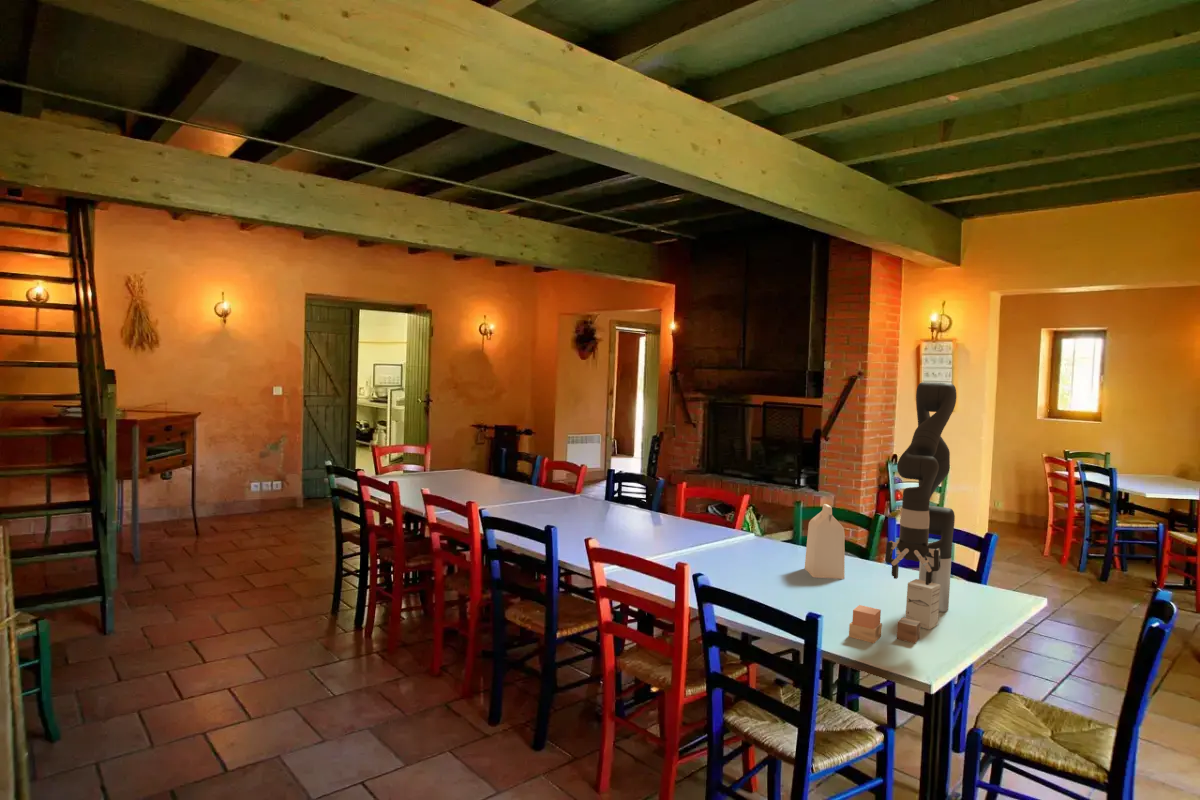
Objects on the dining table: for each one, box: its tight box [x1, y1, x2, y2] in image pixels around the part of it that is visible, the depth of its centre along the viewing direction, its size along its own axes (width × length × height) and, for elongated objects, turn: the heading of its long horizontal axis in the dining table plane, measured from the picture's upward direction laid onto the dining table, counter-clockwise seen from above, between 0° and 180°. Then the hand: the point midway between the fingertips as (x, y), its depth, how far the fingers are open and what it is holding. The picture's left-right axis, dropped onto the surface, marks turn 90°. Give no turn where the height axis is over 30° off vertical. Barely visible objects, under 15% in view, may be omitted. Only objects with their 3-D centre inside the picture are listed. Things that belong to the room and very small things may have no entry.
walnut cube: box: [896, 617, 921, 644], centre depth 199 cm, size 5×5×5 cm
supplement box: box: [905, 578, 941, 630], centre depth 212 cm, size 7×7×13 cm
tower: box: [851, 604, 882, 629], centre depth 199 cm, size 6×6×4 cm
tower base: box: [848, 620, 883, 644], centre depth 199 cm, size 7×7×4 cm
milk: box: [804, 503, 846, 580], centre depth 264 cm, size 12×12×26 cm
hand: (911, 581), depth 198 cm, fingers open, 8 cm apart
